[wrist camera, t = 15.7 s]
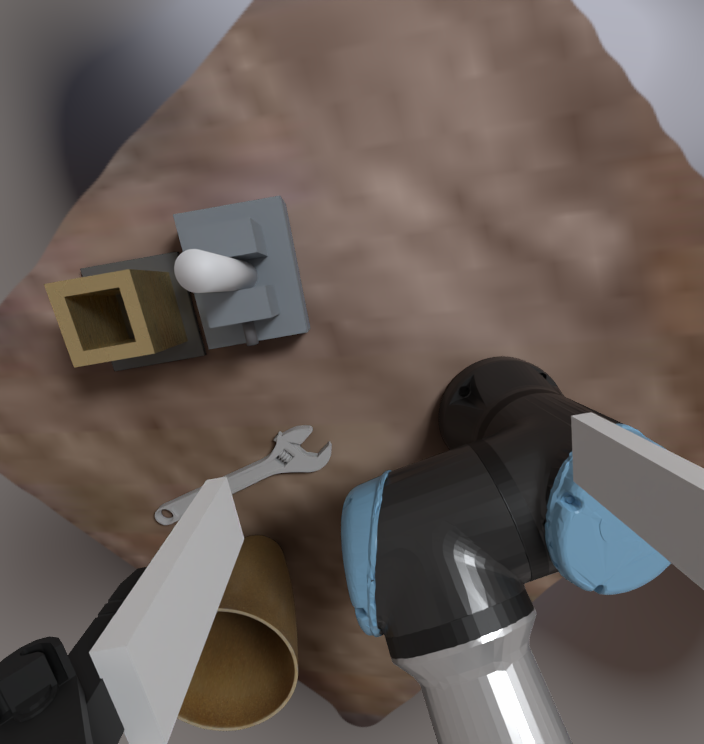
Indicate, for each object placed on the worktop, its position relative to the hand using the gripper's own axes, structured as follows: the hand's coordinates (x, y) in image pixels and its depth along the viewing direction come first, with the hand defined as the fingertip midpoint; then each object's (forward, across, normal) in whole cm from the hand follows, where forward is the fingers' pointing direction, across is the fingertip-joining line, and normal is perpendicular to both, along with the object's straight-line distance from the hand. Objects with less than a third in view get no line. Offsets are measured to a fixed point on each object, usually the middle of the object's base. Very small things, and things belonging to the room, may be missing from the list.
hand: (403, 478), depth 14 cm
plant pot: (+32, +19, +27) cm, 46 cm away
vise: (+32, +11, -10) cm, 35 cm away
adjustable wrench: (+32, +18, +14) cm, 40 cm away
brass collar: (+31, +24, -8) cm, 40 cm away
